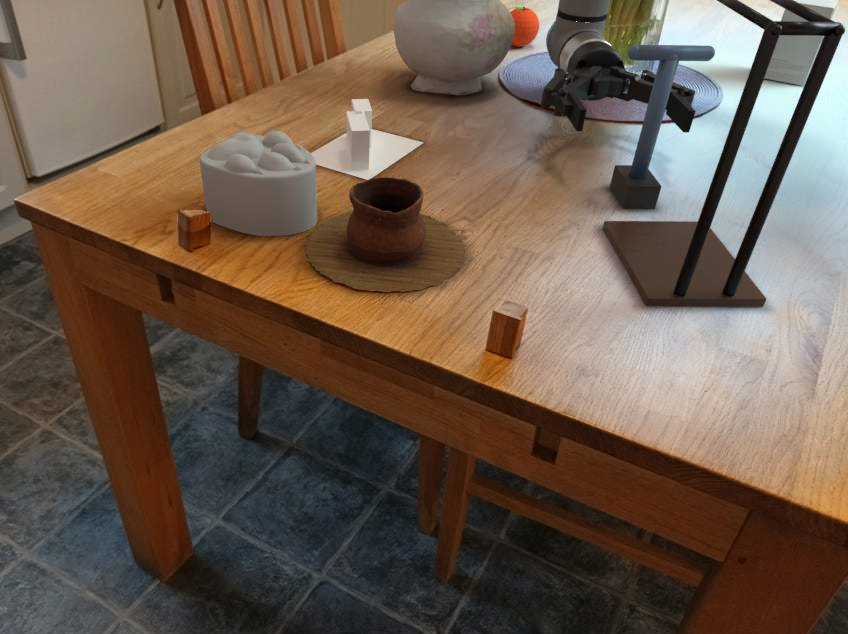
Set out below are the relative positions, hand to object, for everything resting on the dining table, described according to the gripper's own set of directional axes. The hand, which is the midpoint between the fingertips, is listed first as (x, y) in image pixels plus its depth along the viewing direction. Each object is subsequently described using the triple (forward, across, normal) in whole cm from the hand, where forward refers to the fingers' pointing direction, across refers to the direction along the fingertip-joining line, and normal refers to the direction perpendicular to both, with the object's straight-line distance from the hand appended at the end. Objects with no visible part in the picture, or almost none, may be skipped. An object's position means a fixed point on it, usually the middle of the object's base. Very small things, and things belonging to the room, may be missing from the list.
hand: (635, 121), depth 89 cm
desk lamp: (+20, 0, -8) cm, 22 cm away
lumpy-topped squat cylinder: (+10, +46, -8) cm, 47 cm away
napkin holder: (-9, +34, -8) cm, 36 cm away
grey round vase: (-38, +18, -8) cm, 43 cm away
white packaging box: (-43, -43, -8) cm, 61 cm away
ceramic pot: (+18, +32, -8) cm, 37 cm away
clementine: (-60, +3, -8) cm, 61 cm away
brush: (+5, 0, -8) cm, 9 cm away
